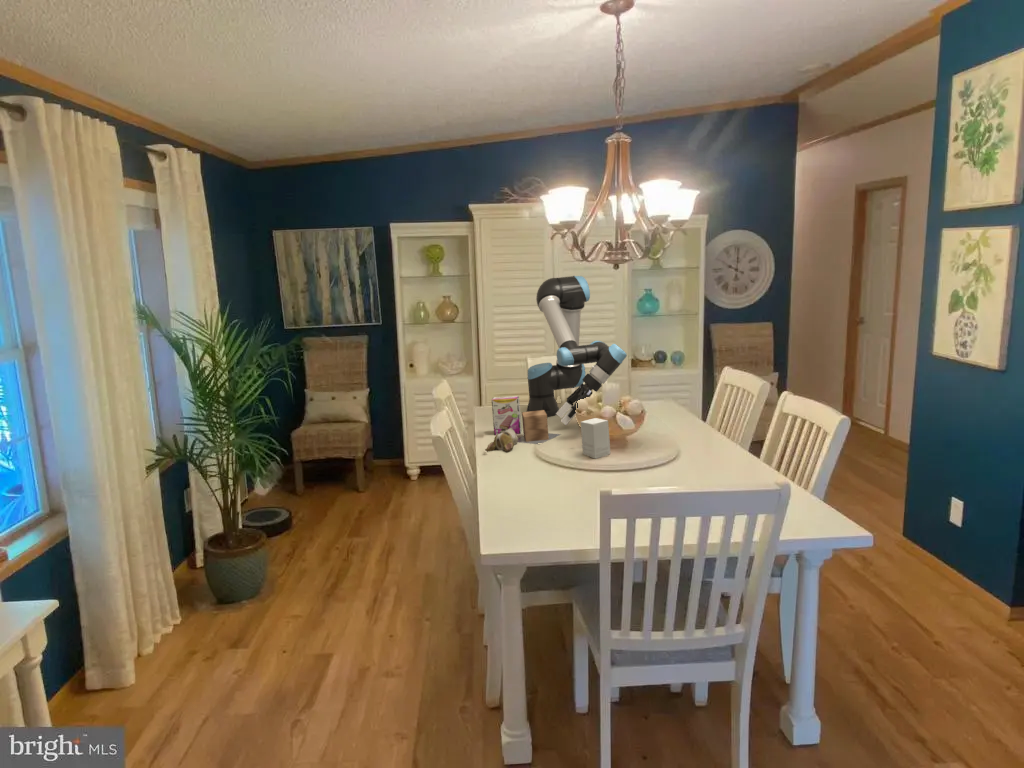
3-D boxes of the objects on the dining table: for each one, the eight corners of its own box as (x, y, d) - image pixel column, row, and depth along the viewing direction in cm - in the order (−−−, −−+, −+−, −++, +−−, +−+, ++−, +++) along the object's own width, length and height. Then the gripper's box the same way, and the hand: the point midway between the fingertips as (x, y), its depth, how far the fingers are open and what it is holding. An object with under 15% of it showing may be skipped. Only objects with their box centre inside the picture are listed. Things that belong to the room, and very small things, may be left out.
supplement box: (611, 454, 248) (609, 420, 246) (594, 459, 245) (592, 424, 243) (598, 451, 255) (596, 417, 253) (582, 455, 251) (579, 421, 249)
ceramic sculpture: (523, 423, 270) (506, 435, 256) (525, 445, 272) (509, 458, 258) (498, 423, 274) (481, 435, 261) (501, 444, 276) (484, 457, 263)
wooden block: (545, 434, 282) (543, 410, 280) (548, 439, 273) (546, 414, 271) (523, 436, 281) (521, 412, 279) (526, 441, 272) (523, 416, 270)
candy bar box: (494, 438, 287) (490, 399, 284) (495, 435, 292) (492, 397, 289) (521, 436, 286) (517, 397, 283) (522, 433, 291) (519, 395, 288)
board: (532, 434, 288) (532, 431, 287) (561, 437, 279) (561, 434, 279) (510, 444, 275) (510, 441, 275) (539, 447, 267) (539, 444, 266)
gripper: (583, 368, 286) (549, 407, 288) (594, 377, 262) (557, 420, 264) (596, 379, 288) (563, 418, 289) (608, 389, 263) (572, 432, 265)
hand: (560, 419), depth 276 cm, fingers open, 13 cm apart
